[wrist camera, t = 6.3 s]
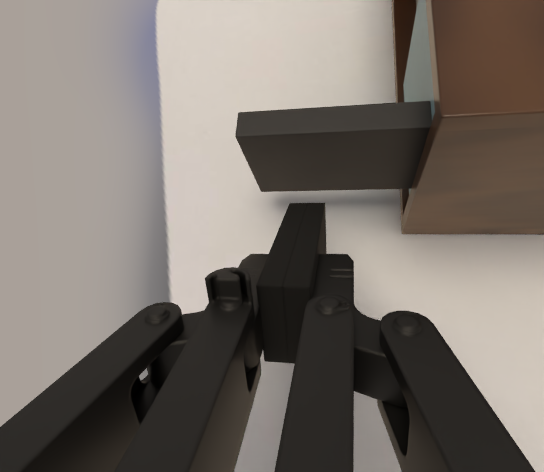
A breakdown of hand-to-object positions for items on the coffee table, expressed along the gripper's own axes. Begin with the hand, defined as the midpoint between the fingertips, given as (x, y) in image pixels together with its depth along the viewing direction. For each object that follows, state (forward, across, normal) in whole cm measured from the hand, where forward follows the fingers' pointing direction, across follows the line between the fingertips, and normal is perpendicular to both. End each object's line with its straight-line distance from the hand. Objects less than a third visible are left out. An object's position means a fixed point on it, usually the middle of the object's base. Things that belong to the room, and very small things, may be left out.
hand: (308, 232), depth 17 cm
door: (+7, +1, +2) cm, 7 cm away
